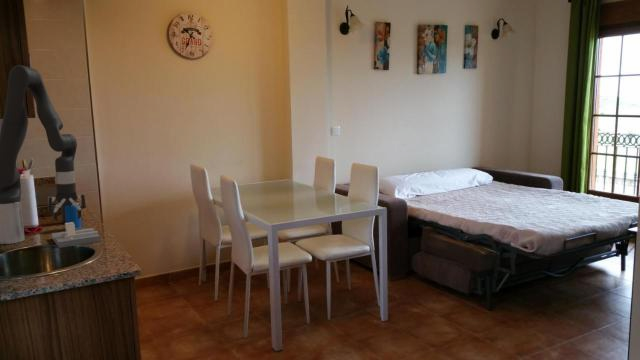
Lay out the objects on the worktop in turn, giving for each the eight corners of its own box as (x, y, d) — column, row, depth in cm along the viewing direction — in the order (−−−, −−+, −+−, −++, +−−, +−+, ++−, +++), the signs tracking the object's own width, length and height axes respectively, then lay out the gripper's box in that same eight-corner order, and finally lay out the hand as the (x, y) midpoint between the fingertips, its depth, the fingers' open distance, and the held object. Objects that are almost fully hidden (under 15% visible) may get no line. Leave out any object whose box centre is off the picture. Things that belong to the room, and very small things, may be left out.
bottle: (59, 223, 256) (55, 183, 253) (69, 220, 262) (66, 181, 259) (70, 224, 254) (67, 183, 251) (80, 221, 260) (77, 181, 257)
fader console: (59, 247, 212) (58, 239, 212) (52, 238, 227) (51, 231, 226) (100, 241, 221) (99, 233, 221) (91, 233, 236) (90, 225, 235)
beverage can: (84, 227, 247) (82, 202, 246) (76, 230, 241) (74, 205, 239) (71, 227, 248) (69, 202, 246) (63, 230, 242) (61, 205, 240)
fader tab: (67, 236, 219) (66, 224, 218) (66, 234, 222) (65, 223, 222) (75, 235, 221) (74, 223, 220) (73, 233, 224) (72, 222, 223)
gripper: (47, 184, 211) (50, 223, 213) (85, 181, 218) (87, 219, 221) (45, 182, 217) (47, 219, 219) (82, 179, 225) (84, 216, 227)
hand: (67, 219), depth 220 cm, fingers open, 8 cm apart
